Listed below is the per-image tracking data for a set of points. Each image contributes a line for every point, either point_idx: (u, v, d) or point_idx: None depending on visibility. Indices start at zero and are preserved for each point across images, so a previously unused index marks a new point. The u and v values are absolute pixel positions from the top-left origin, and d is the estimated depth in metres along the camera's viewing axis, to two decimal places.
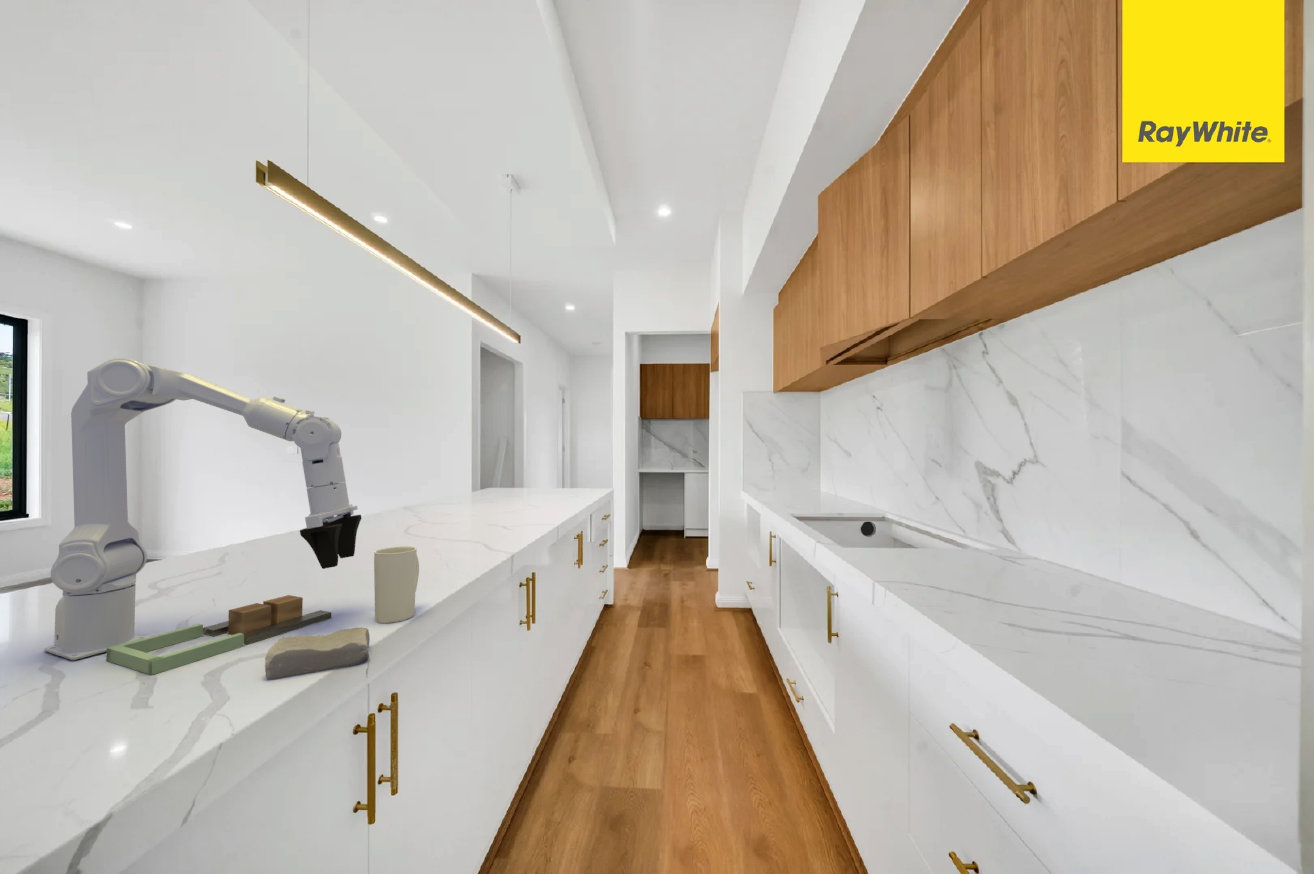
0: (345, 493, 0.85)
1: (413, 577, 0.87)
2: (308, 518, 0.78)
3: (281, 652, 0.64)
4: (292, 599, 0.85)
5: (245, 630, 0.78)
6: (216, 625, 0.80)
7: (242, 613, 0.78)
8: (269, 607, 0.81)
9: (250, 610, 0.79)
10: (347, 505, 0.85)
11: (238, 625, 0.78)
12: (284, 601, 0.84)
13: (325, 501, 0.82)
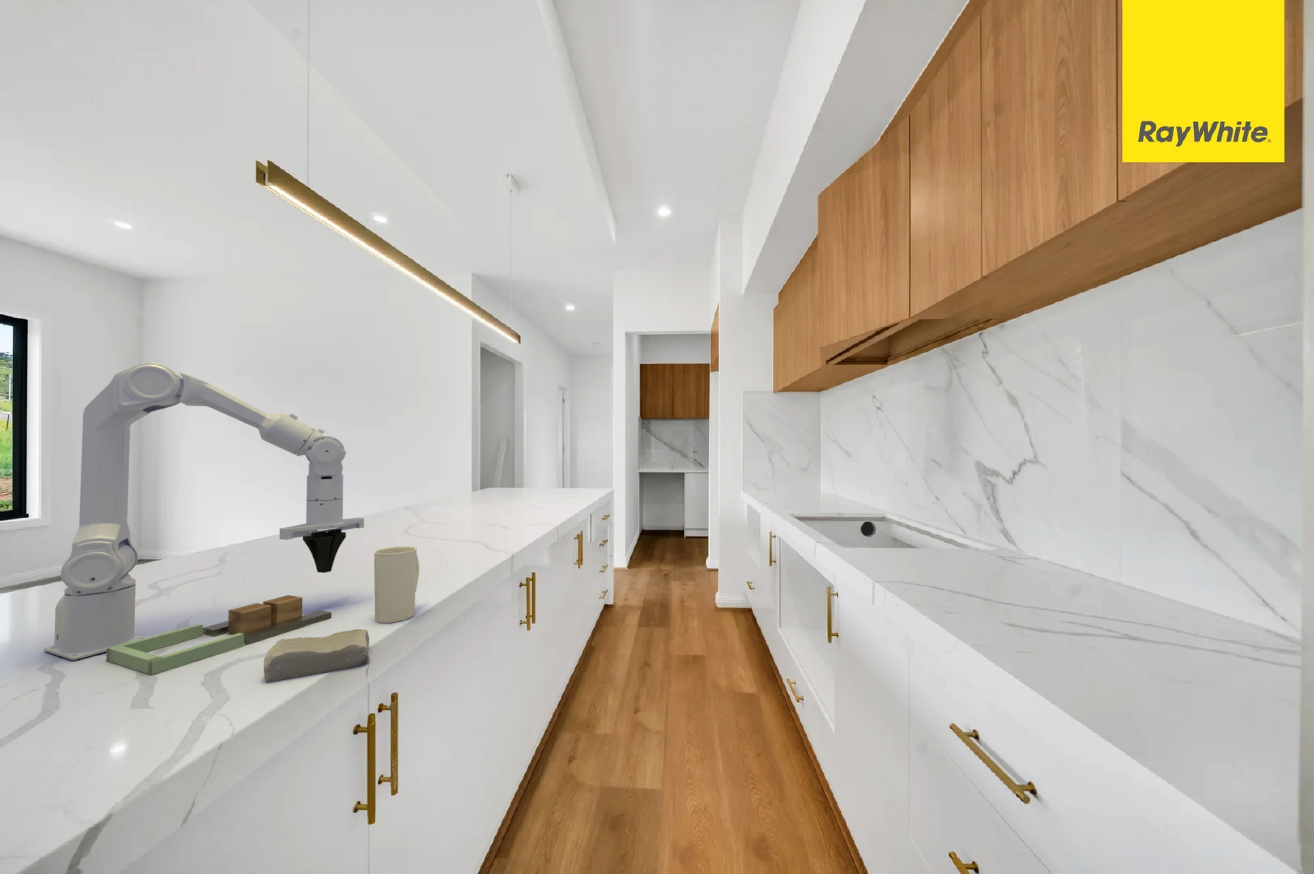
0: (333, 510, 0.91)
1: (413, 577, 0.87)
2: (281, 530, 0.85)
3: (280, 654, 0.63)
4: (292, 599, 0.85)
5: (245, 630, 0.78)
6: (216, 625, 0.80)
7: (242, 613, 0.78)
8: (269, 607, 0.81)
9: (250, 610, 0.79)
10: (333, 521, 0.91)
11: (238, 625, 0.78)
12: (284, 601, 0.84)
13: (311, 515, 0.89)
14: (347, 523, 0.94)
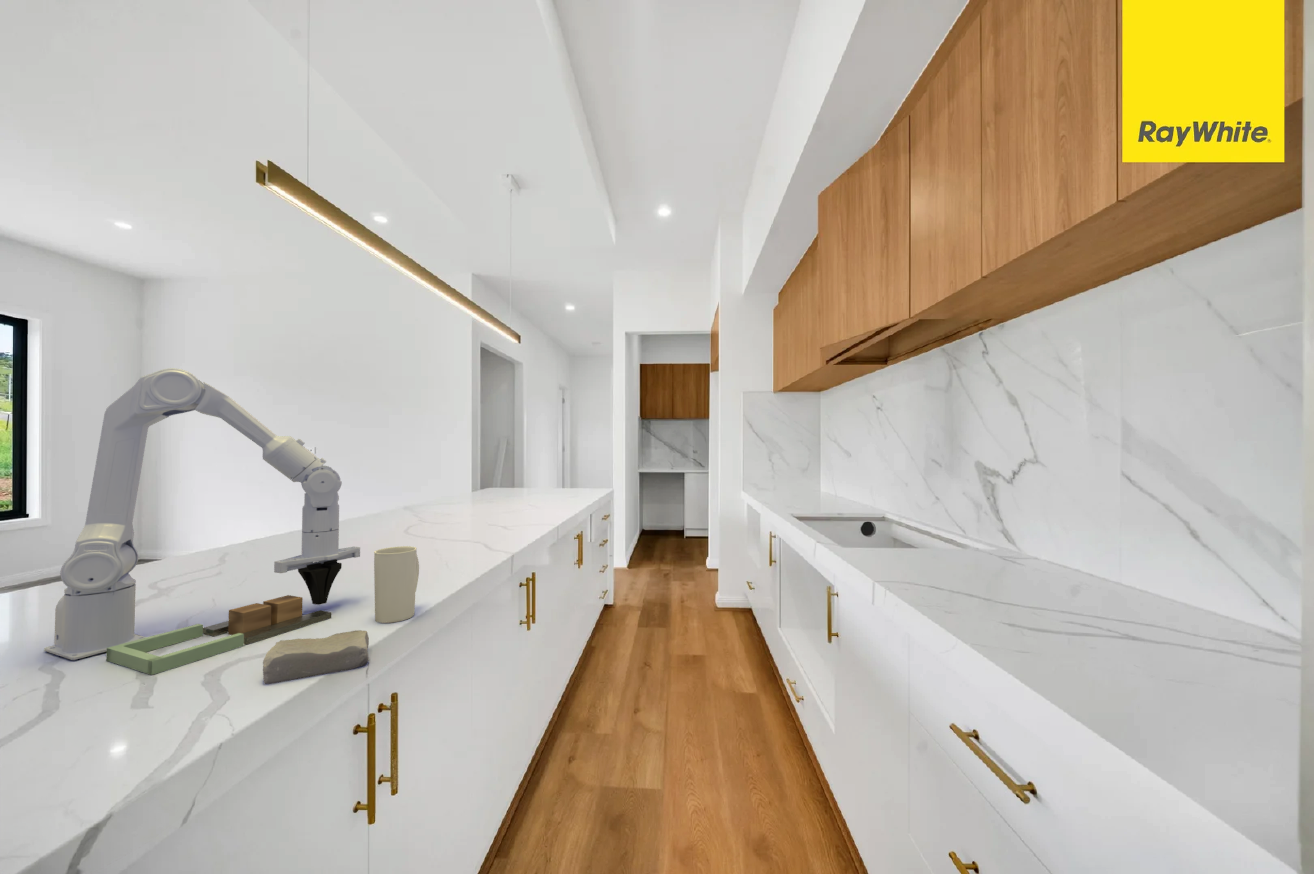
0: (328, 541, 0.90)
1: (413, 577, 0.87)
2: (275, 563, 0.85)
3: (279, 656, 0.63)
4: (292, 599, 0.85)
5: (245, 630, 0.78)
6: (216, 625, 0.80)
7: (242, 613, 0.78)
8: (269, 607, 0.81)
9: (250, 610, 0.79)
10: (328, 553, 0.90)
11: (238, 625, 0.78)
12: (284, 601, 0.84)
13: (306, 547, 0.88)
14: (343, 553, 0.93)
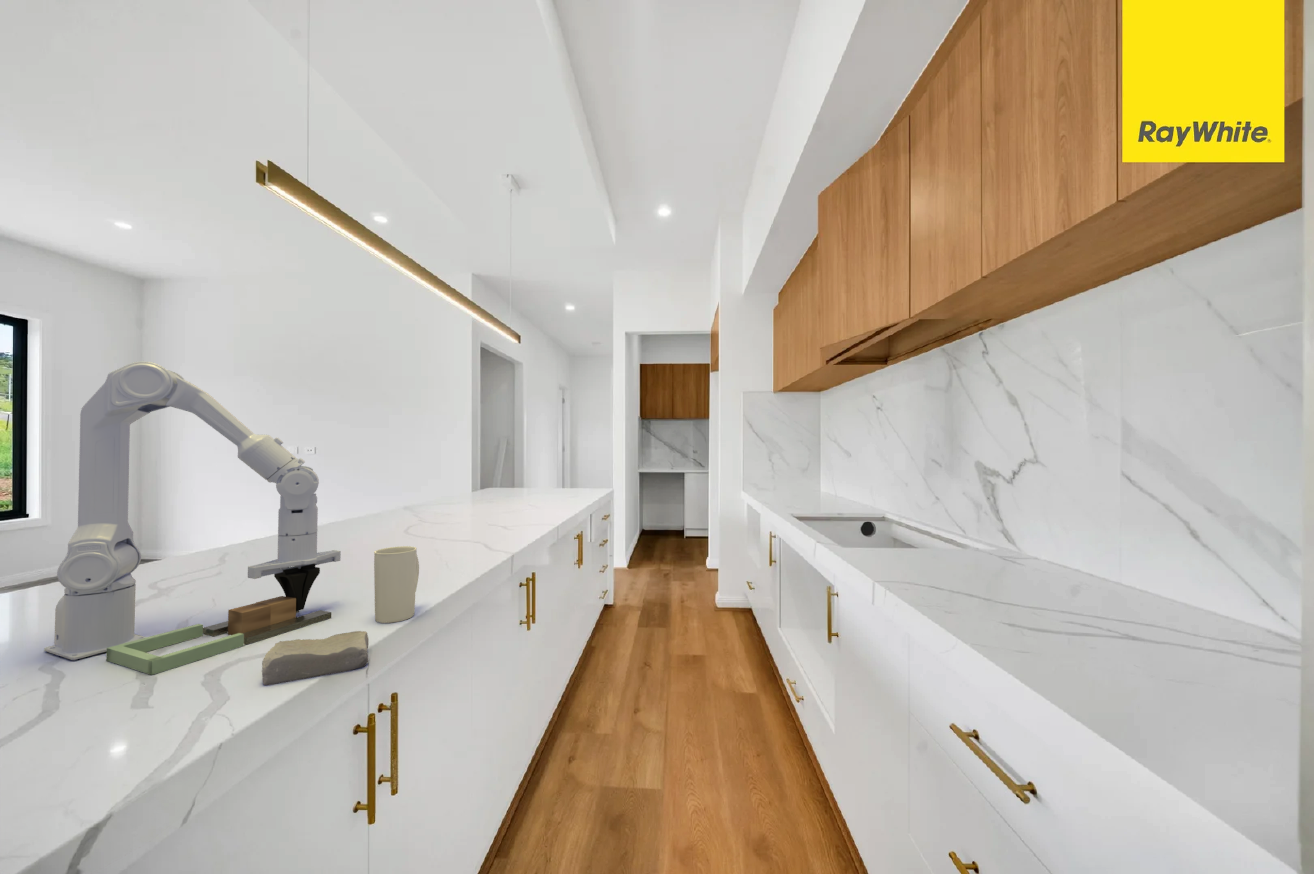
0: (306, 545, 0.86)
1: (413, 577, 0.87)
2: (249, 568, 0.81)
3: (278, 657, 0.62)
4: (285, 600, 0.84)
5: (244, 630, 0.78)
6: (216, 625, 0.80)
7: (241, 613, 0.78)
8: (268, 607, 0.81)
9: (249, 610, 0.79)
10: (306, 557, 0.86)
11: (238, 625, 0.78)
12: (277, 602, 0.83)
13: (282, 551, 0.85)
14: (322, 558, 0.89)
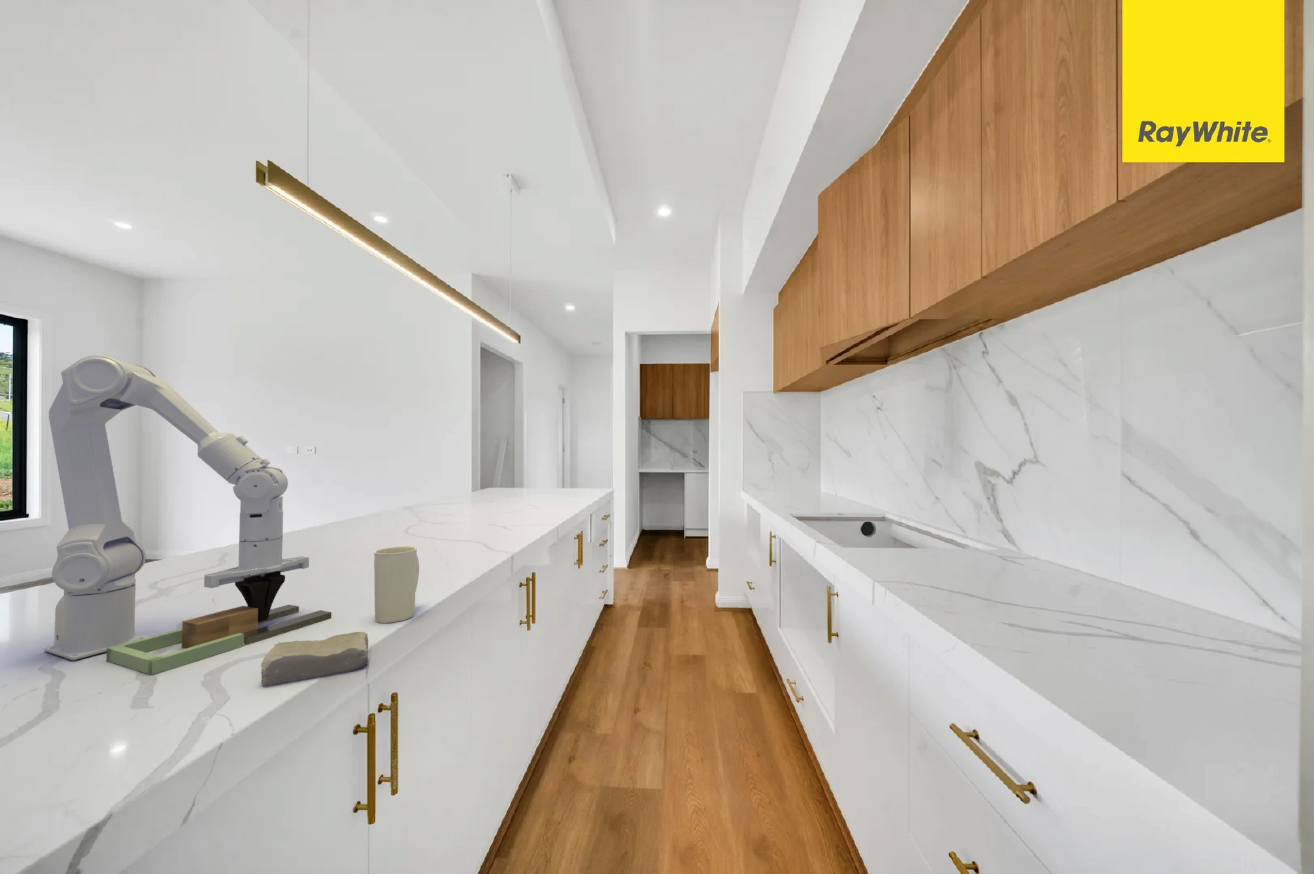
0: (269, 551, 0.81)
1: (413, 577, 0.87)
2: (205, 576, 0.76)
3: (277, 658, 0.62)
4: (246, 610, 0.79)
5: (199, 643, 0.73)
6: None
7: (196, 625, 0.73)
8: (227, 618, 0.76)
9: (205, 621, 0.74)
10: (269, 564, 0.81)
11: (192, 637, 0.73)
12: (237, 613, 0.78)
13: (243, 558, 0.79)
14: (287, 565, 0.84)
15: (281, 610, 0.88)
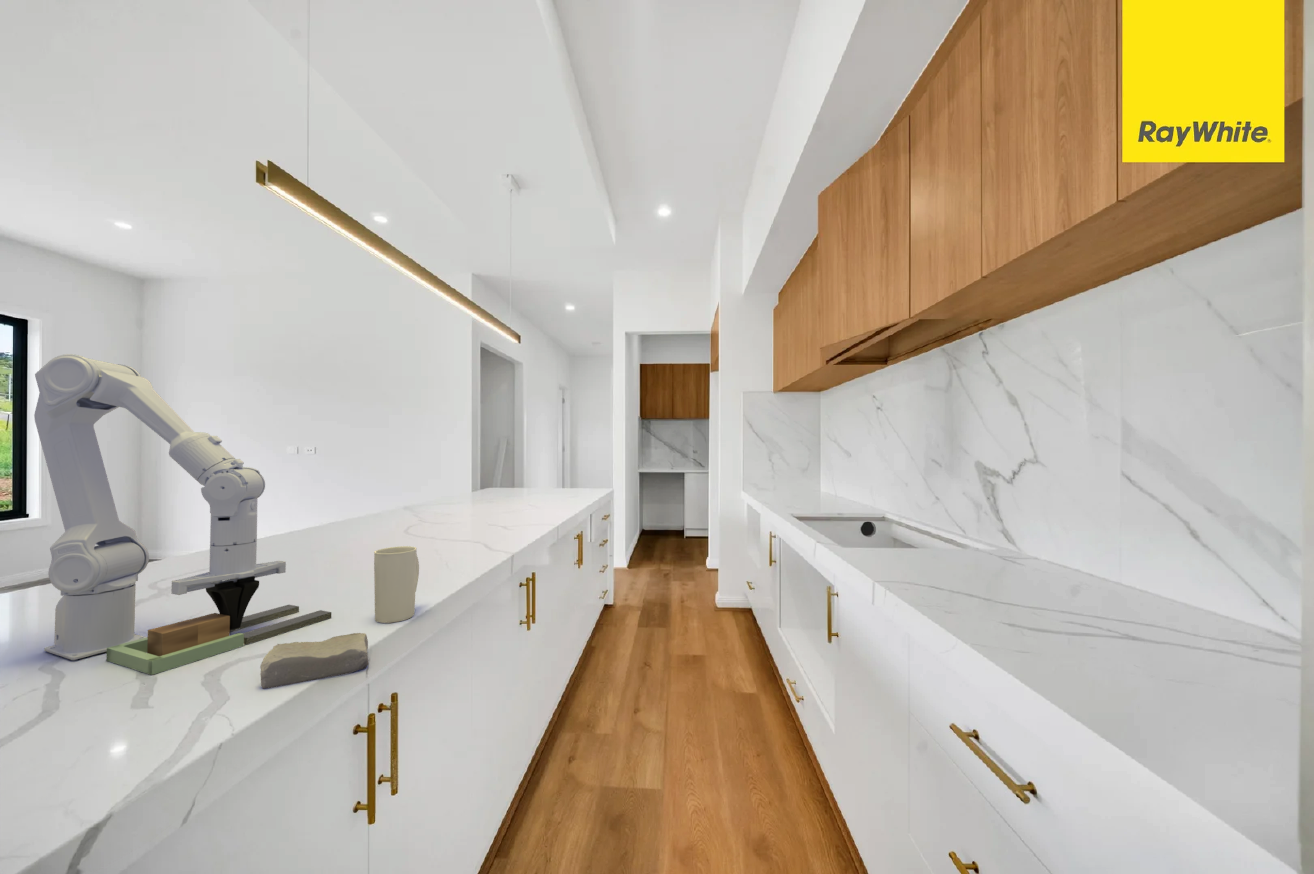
0: (241, 556, 0.77)
1: (413, 577, 0.87)
2: (173, 583, 0.72)
3: (277, 660, 0.61)
4: (217, 618, 0.75)
5: (165, 653, 0.69)
6: None
7: (161, 634, 0.69)
8: (195, 626, 0.72)
9: (172, 630, 0.70)
10: (241, 570, 0.77)
11: (157, 647, 0.69)
12: (206, 621, 0.74)
13: (214, 563, 0.76)
14: (261, 570, 0.80)
15: (281, 610, 0.88)
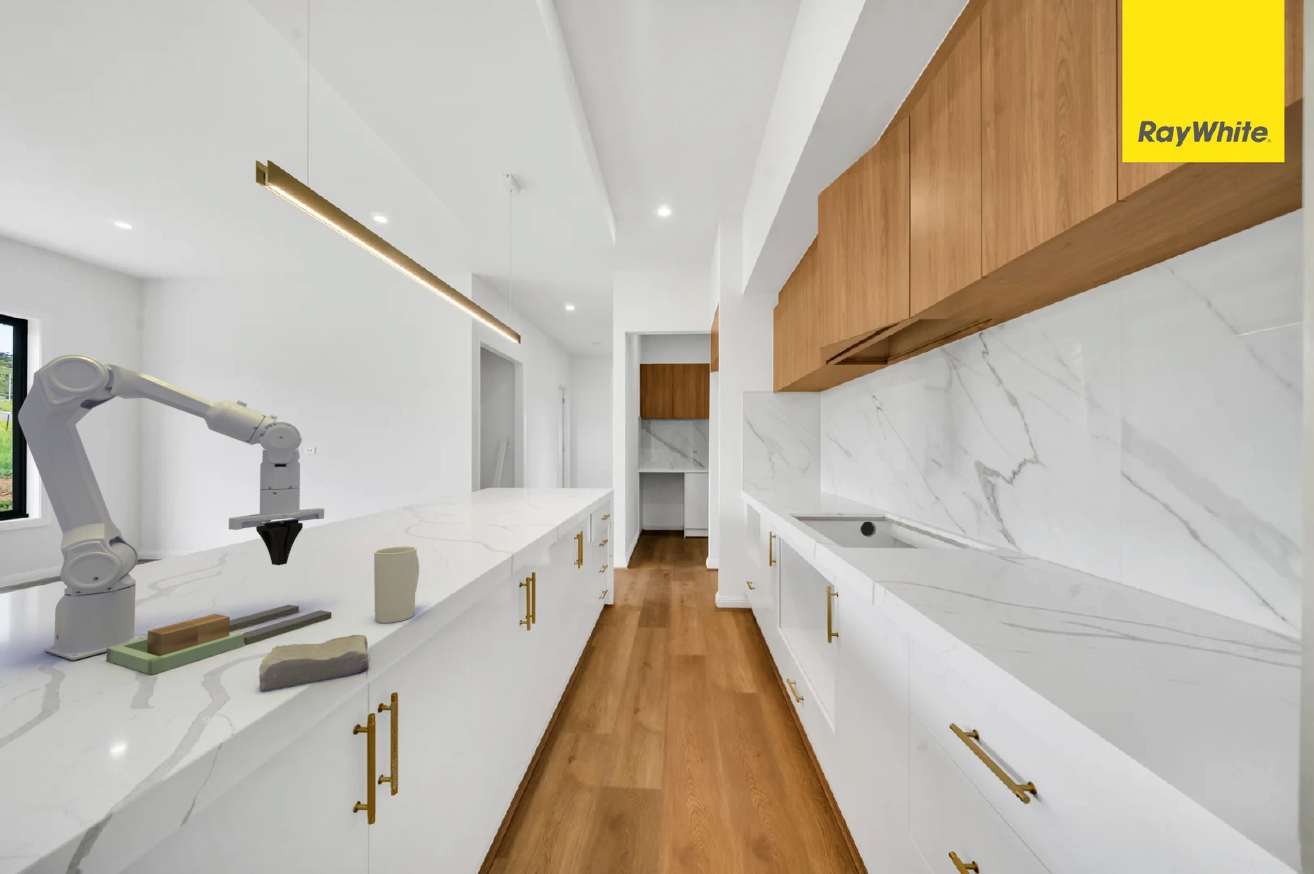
0: (287, 499, 0.86)
1: (413, 577, 0.87)
2: (230, 519, 0.81)
3: (276, 662, 0.61)
4: (217, 619, 0.75)
5: (165, 654, 0.69)
6: None
7: (161, 635, 0.69)
8: (195, 627, 0.72)
9: (172, 631, 0.70)
10: (287, 511, 0.86)
11: (157, 648, 0.69)
12: (206, 622, 0.74)
13: (264, 505, 0.85)
14: (304, 513, 0.90)
15: (281, 610, 0.88)
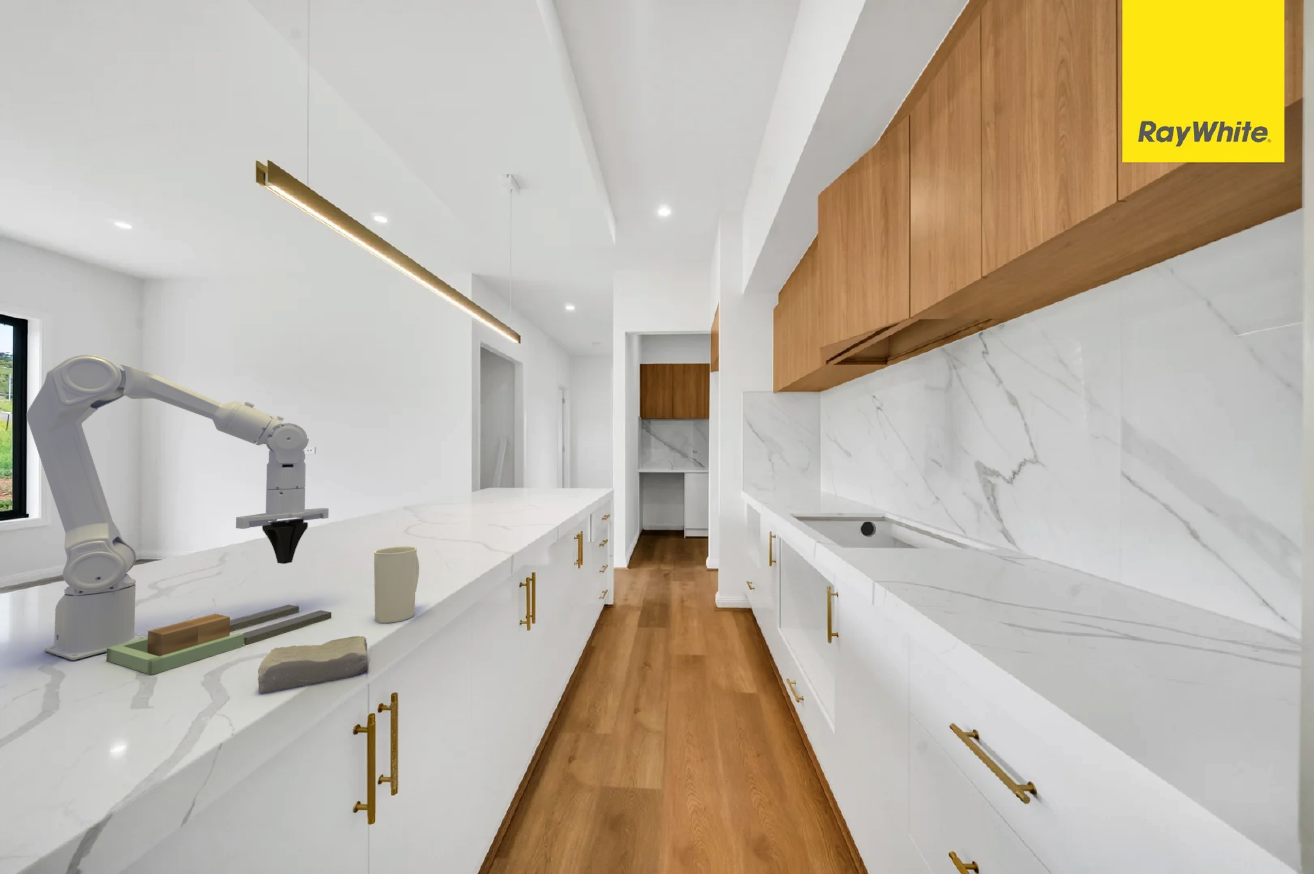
0: (293, 499, 0.88)
1: (413, 577, 0.87)
2: (237, 519, 0.83)
3: (275, 664, 0.60)
4: (217, 619, 0.75)
5: (165, 654, 0.69)
6: None
7: (161, 635, 0.69)
8: (195, 627, 0.72)
9: (172, 631, 0.70)
10: (293, 511, 0.88)
11: (157, 648, 0.69)
12: (207, 621, 0.74)
13: (270, 504, 0.87)
14: (309, 513, 0.91)
15: (281, 610, 0.88)
